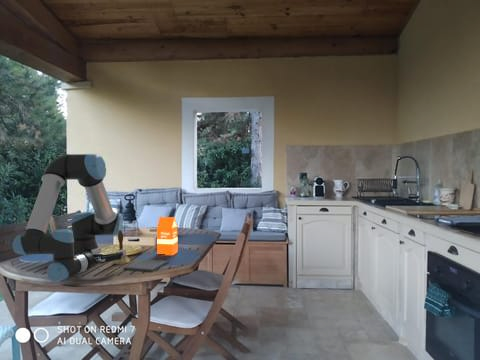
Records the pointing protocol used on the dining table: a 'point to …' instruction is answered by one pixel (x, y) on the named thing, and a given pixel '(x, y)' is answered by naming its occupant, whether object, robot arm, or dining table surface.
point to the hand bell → (124, 258)
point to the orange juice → (167, 236)
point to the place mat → (146, 265)
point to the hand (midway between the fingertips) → (112, 250)
